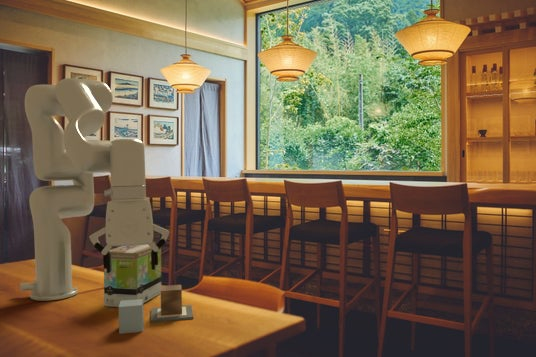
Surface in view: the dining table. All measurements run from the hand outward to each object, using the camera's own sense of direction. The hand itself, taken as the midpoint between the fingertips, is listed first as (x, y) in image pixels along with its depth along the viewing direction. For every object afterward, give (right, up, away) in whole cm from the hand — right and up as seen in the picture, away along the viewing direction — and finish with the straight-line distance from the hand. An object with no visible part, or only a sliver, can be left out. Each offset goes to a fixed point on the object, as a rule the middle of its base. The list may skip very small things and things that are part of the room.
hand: (131, 270), depth 108 cm
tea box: (-6, -13, +24) cm, 28 cm away
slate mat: (+7, -13, +11) cm, 18 cm away
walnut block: (+7, -12, +11) cm, 18 cm away
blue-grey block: (0, -14, +1) cm, 14 cm away
